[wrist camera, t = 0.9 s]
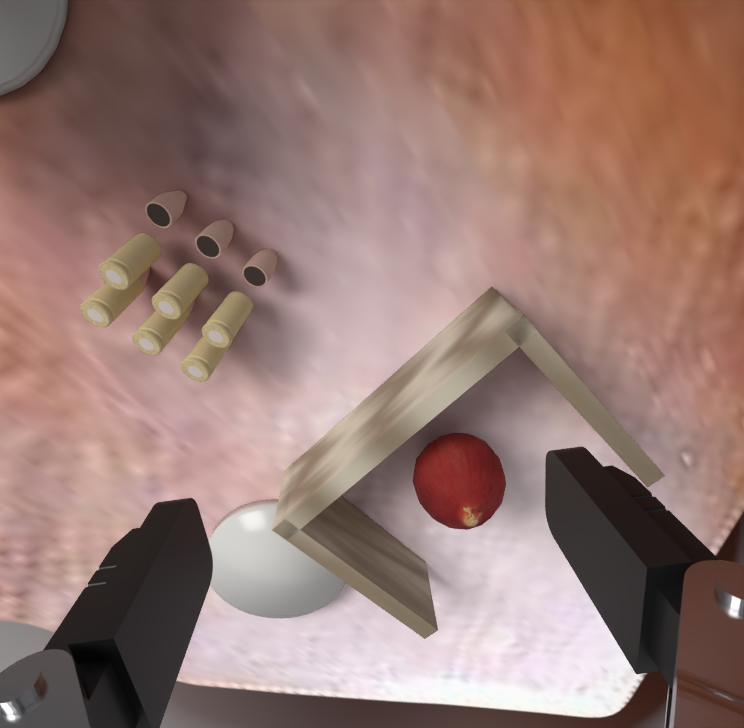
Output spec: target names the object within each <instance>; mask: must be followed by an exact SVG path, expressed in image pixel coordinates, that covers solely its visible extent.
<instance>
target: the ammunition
mask: <svg viewBox="0 0 744 728" xmlns="http://www.w3.org/2000/svg"><path fill="white" fill-rule="evenodd" d="M186 200H187V196H186V194H185V193H184V192H183V191H180V190H179V191H172V192H165V193H160V194H159V195H158V196H156V197H155V198H154V199H152V200H151V201H150V202H149V203H147V204H146V206H145V213H146V216H147V217H148V219H149V220H150V221H151V222H152V223H153V224H154V225H155V226H157V227H160V228H168V227H170V226H171V225H172V224H173V223H174V222H175V221H176V220H177V219H179V218H180V217H181V215H182V213H183V210H184V207H185V203H186ZM233 232H234V229H233V225H232V223H231V222H229V221H228V220H219V221H216V222H213V223H211V224H210V225H208V226H207V227H206V228H205V229H204V230H203V231H202V232H201V233H200V234H199V235H198V236H197V237H196V238H195V246H196V248H197V250H198V251H199V252H200V253H201V254H202V255H203V256H205V257H207V258H210V259H215V258H217V257H219V256H220V255H221V253H222V252H223V251H224V250H225V249H226V248H227V246H228V245H229V243H230V242H231V240H232V237H233ZM161 253H162V250H161V247H160V245H159V243H158V242H157V241H156V240H155V239H154V238H153V237H152V236H150V235H148V234H145V233H139V234H137V235H136V236H135V237H133V238H132V239H131V240H130V241H128V242H127V243H126V244H125V245H123V246H122V247H121V248H120V249H118V250H117V251H116V252H115V253H114V254H112V255H111V256H110V257H109V258H107V259H106V260H105V261H104V262H102V263H101V264H100V266H99V273H100V275H101V277H102V279H103V280H104V281H105V282H106V283H105V284H104V285H103V286H102V287H101V288H99V289H98V290H97V291H96V292H95V293H94V294H92V295H91V296H90V297H89V298H88V299H87V300H86V301H84V302H83V303H82V304H81V306H80V309H81V312H82V314H83V316H84V317H85V318H86V319H87V320H88V321H89V322H91V323H92V324H94V325H96V326H99V327H107V326H109V325H110V324H111V323H112V321H114V320H115V319H116V318H117V317H118V316H119V315H120V314H121V313H122V312H123V311H124V310H125V309H126V308H127V307H128V306H129V305H130V304H131V303H132V302H133V301H134V300H135V299H136V297H137V296H138V295H139V294H140V293H141V292H142V291H143V289H144V287H145V284H146V281H147V278H148V276H149V273H150V268H149V267H150V266H151V265H152V264H153V263H154V262H155V261H156V260H157V259H158V258H159V257H160V256H161ZM276 265H277V255H276V253H275V251H274V250H272V249H264V250H261V251H259V252H258V253H256V254H255V255H254V256H253V257H252V258H251V259H250V260H249V261H248V263H247V264H246V265H245V267H244V268H243V270H242V276H243V278H244V280H245V281H246V282H247V283H248V284H249V285H251V286H253V287H257V288H260V287H264V286H265V285H266V284H267V282H268V281H269V279H270V278H271V276H272V275H273V273H274V271H275V269H276ZM207 283H208V276H207V274H206V272H205V271H204V270H203V269H202V268H201V267H200V266H198V265H196V264H193V263H187V264H185V265H184V266H183V267H182V268H181V269H180V270H179V271H178V272H177V273H176V274H175V275H174V276H173V277H172V278H171V279H170V280H169V281H168V282H167V283H166V284H165V285H164V286H163V287H162V288H161V289H160V290H159V291H158V292H157V293H156V294H155V295H154V296H153V298H152V305H153V307H154V309H155V310H156V311H155V312H154V313H153V314H152V315H151V316H150V317H149V318H148V319H147V320H146V321H145V322H144V323H143V324H142V325H141V326H140V327H139V329H138V330H137V331H136V332H135V333H134V334H133V336H132V339H133V342H134V344H135V345H136V346H137V347H138V348H139V349H140V350H141V351H143V352H145V353H147V354H150V355H157V354H159V353H160V352H161V351H162V350H163V348H164V347H165V346H166V345H167V344H168V342H169V341H170V340H171V339H172V337H173V336H174V335H175V334H176V332H177V331H178V330H179V329H180V327H181V326H182V325H183V324H184V322H185V321H186V320H187V319H188V317H189V314H190V313H191V311H192V309H193V306H194V303H195V298H196V297H197V296H198V295H199V293H200V292H201V291H202V290H203V289H204V287H205V286H206V285H207ZM252 309H253V304H252V301H251V300H250V298H249V297H248V296H246V295H245V294H243V293H241V292H237V291H234V292H231V293H229V294H228V296H227V297H226V298H225V299H224V301H223V302H222V303H221V305H220V306H219V307H218V308H217V310H216V311H215V312H214V313H213V315H212V316H211V317H210V319H209V320H208V321H207V323H206V324H205V325H204V326H203V328H202V335H203V336H202V338H201V339H200V340H199V341H198V343H197V344H196V345H195V347H194V348H193V349H192V351H191V352H190V353H189V354H188V356H187V357H186V359H185V360H184V361H183V362H182V364H181V367H182V370H183V372H184V373H185V374H186V375H187V376H188V377H190V378H191V379H193V380H196V381H206V380H208V379H209V377H210V375H211V374H212V373H213V371H214V370H215V368H216V367H217V365H218V363H219V362H220V360H221V359H222V357H223V356H224V354H225V353H226V351H227V350H228V348H229V347H230V345H231V344H232V342H233V338H234V337H235V335H236V334H237V332H238V331H239V329H240V328H241V326H242V325H243V323H244V321H245V320H246V318H247V317H248V315H249V314H250V312H251V311H252Z"/></svg>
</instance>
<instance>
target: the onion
mask: <svg viewBox="0 0 744 728" xmlns="http://www.w3.org/2000/svg"><path fill="white" fill-rule="evenodd" d="M413 484H414V487H415V490H416V493H417V496H418V499H419V502H420V504H421V505H422V506H423V508H424V509H425V510H426V511H427V512H428V513H429V515H430V516H431V517H432V518H433V519H435V520H436V521H437V522H439V523H441V524H443V525H445V526H447V527H449V528H454V529H466V530H467V529H471V528H474V527H477V526H480V525H482V524H483V523H485V522H486V521H487V520H488V519H490V518H491V517H492V515H493V514H494V513H495V511H496V510H497V509H498V507H499V506H500V505H501V503H502V500H503V496H504V491H505V486H506V481H505V475H504V472H503V469H502V465H501V462H500V459H499V457H498V456H497V455H496V454H495V453H494V451H493V450H492V449H491V448H490V447H489V446H488V444H487V443H486V442H485V441H483V440H481V439H478V438H476V437H474V436H472V435H469V434H462V433H451V434H448V435H444V436H441V437H439V438H437V439H436V440H434V441H433V442H431V443H429V444H428V445H427V446H426V447H425V448H424V450H423V451H422V452H421V454H420V455H419V456H418V457H417V459H416V464H415V469H414V475H413Z"/></svg>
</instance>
